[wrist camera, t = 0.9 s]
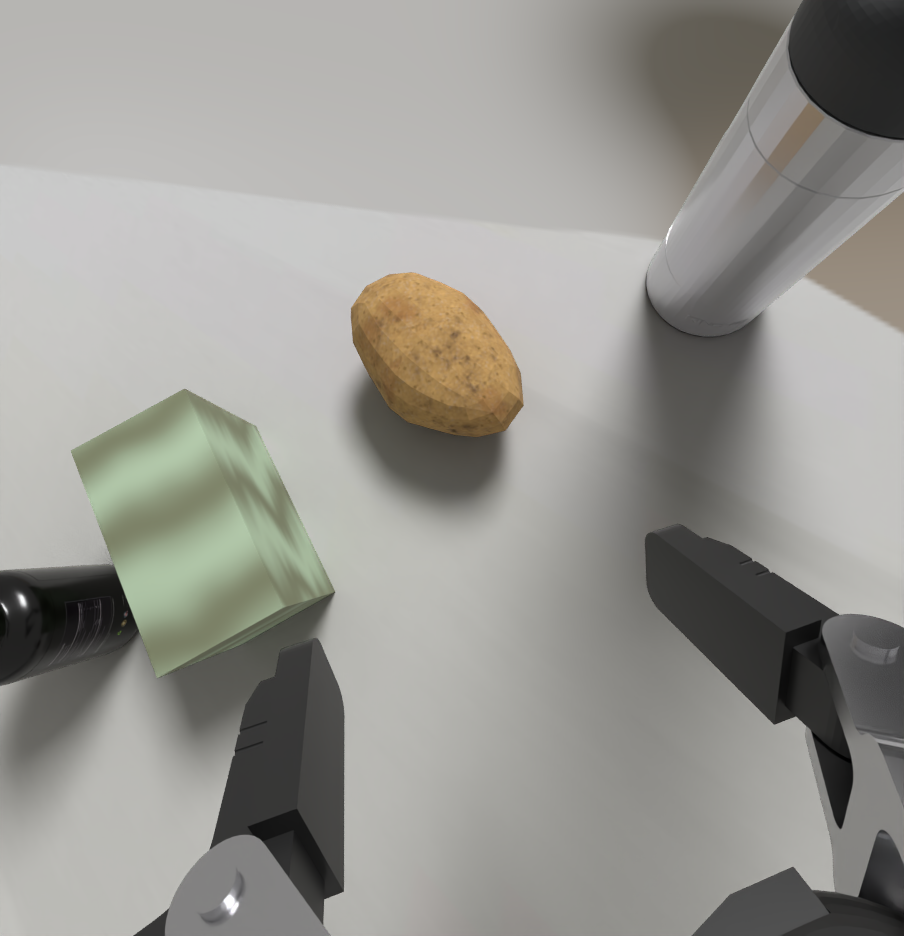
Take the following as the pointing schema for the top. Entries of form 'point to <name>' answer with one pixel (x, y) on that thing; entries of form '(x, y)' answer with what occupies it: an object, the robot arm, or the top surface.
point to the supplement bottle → (60, 618)
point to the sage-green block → (198, 529)
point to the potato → (436, 356)
